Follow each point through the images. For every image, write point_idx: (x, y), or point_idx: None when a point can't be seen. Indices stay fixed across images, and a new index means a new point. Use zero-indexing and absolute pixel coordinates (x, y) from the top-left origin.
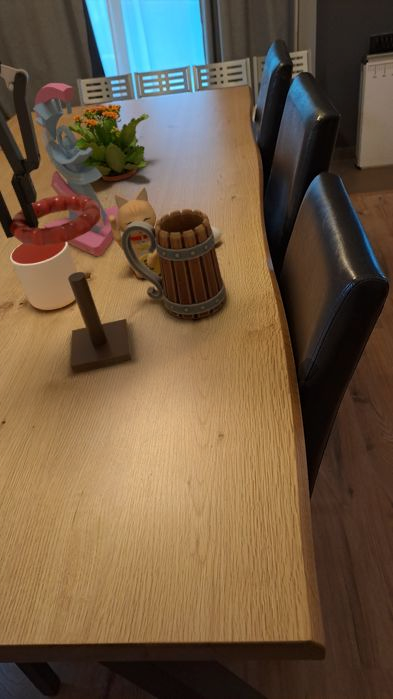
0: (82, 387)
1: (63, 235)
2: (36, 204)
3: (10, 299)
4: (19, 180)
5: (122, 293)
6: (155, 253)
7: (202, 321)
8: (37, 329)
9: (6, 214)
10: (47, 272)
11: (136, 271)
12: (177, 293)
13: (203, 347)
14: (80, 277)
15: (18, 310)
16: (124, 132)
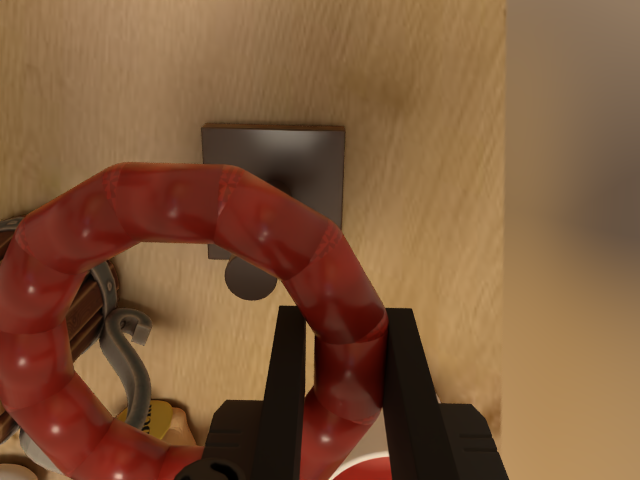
0: (323, 70)
1: (125, 167)
2: None
3: None
4: (225, 463)
5: (224, 370)
6: None
7: (35, 204)
8: (427, 312)
9: (391, 396)
10: (375, 430)
11: (180, 422)
12: None
13: (34, 110)
14: (237, 266)
15: (470, 395)
16: None
